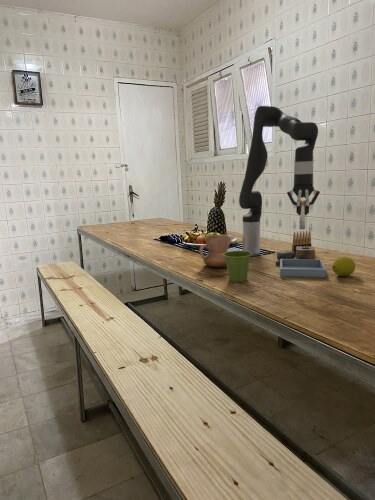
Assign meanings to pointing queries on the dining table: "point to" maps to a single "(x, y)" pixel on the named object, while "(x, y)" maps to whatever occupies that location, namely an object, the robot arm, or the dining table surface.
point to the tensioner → (300, 254)
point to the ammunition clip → (301, 240)
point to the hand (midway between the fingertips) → (302, 214)
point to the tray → (302, 268)
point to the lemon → (343, 266)
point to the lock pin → (302, 214)
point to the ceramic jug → (216, 250)
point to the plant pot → (237, 265)
